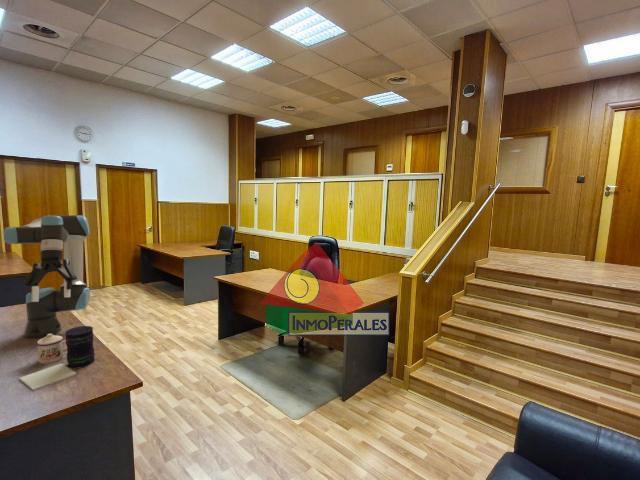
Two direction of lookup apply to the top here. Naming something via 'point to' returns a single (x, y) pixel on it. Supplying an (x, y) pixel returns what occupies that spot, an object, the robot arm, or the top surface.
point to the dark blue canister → (80, 346)
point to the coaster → (47, 376)
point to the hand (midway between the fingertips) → (51, 299)
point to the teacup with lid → (50, 348)
